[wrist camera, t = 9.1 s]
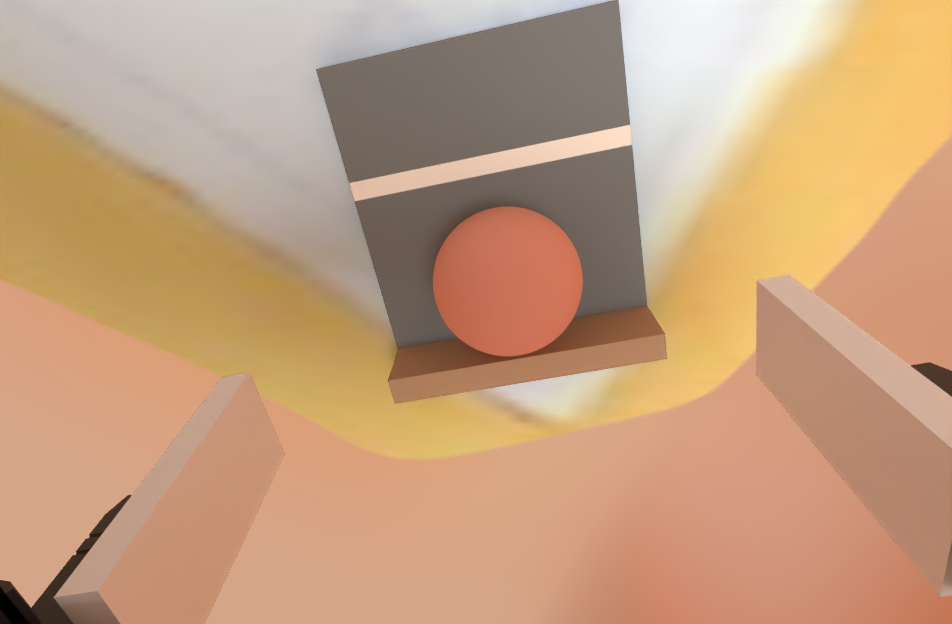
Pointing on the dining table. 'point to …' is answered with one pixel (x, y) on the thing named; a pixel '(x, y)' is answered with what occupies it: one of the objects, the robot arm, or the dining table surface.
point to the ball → (507, 281)
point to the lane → (498, 185)
